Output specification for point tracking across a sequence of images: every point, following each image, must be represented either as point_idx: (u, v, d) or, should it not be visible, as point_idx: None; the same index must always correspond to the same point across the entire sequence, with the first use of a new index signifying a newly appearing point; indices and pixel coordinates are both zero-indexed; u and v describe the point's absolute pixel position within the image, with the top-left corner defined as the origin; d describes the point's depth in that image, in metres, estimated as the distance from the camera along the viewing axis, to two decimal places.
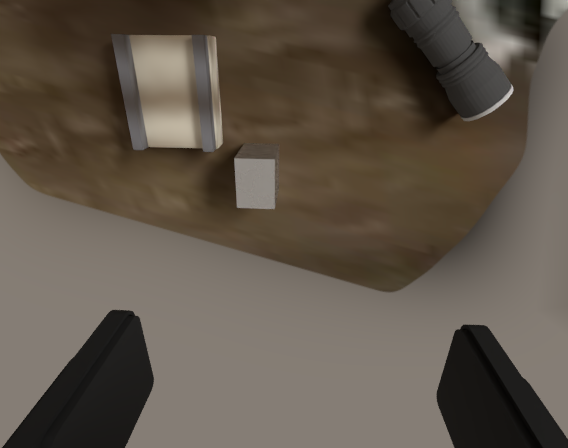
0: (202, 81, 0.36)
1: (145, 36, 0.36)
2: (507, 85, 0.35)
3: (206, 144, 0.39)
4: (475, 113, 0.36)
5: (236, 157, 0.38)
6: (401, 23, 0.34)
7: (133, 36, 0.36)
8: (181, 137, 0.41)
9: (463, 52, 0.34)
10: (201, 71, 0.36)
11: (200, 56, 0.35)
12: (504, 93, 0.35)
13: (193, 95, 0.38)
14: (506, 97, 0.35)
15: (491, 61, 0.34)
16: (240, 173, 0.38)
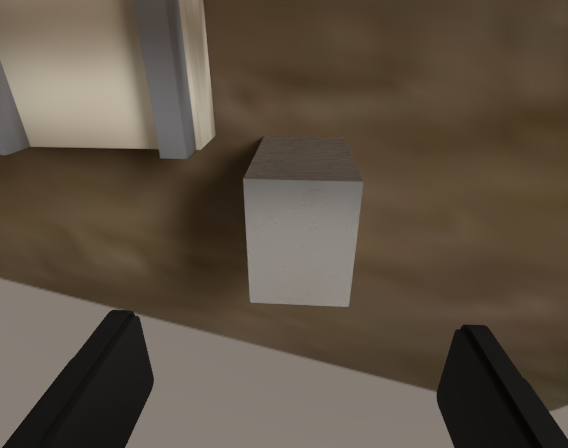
0: None
1: None
2: None
3: (168, 139, 0.15)
4: None
5: (249, 175, 0.13)
6: None
7: None
8: (106, 121, 0.16)
9: None
10: None
11: None
12: None
13: (126, 0, 0.14)
14: None
15: None
16: (261, 219, 0.13)
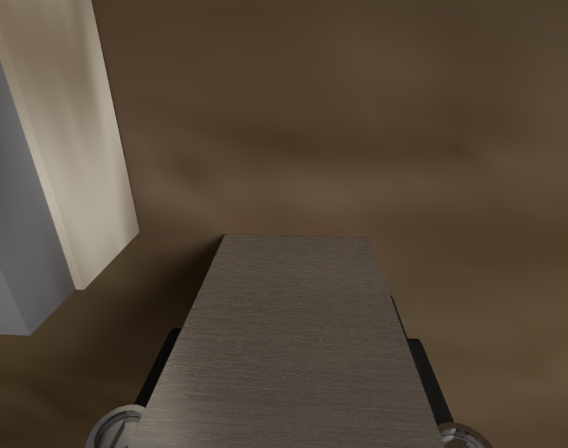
0: None
1: None
2: None
3: None
4: None
5: None
6: None
7: None
8: None
9: None
10: None
11: None
12: None
13: None
14: None
15: None
16: None
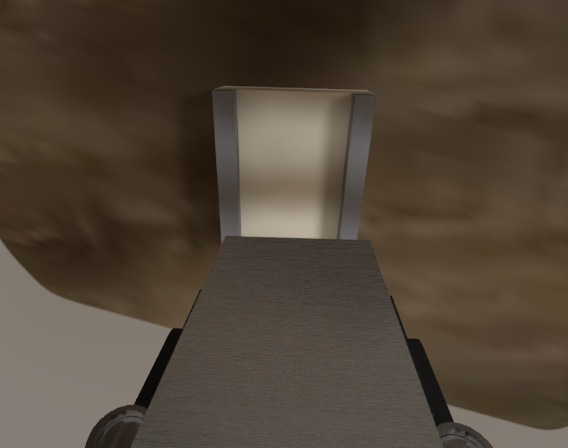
0: (358, 168, 0.21)
1: (264, 92, 0.21)
2: None
3: None
4: None
5: None
6: None
7: (243, 92, 0.21)
8: None
9: None
10: (360, 153, 0.21)
11: (363, 130, 0.20)
12: None
13: (328, 183, 0.23)
14: None
15: None
16: None
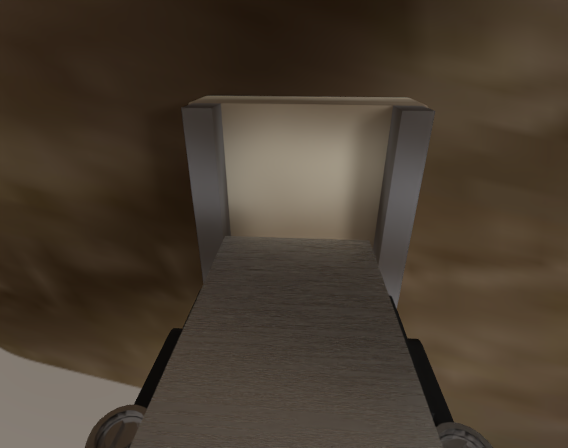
0: (402, 217, 0.14)
1: (262, 107, 0.14)
2: None
3: None
4: None
5: None
6: None
7: (231, 107, 0.14)
8: None
9: None
10: (406, 195, 0.14)
11: (412, 162, 0.13)
12: None
13: (355, 231, 0.17)
14: None
15: None
16: None
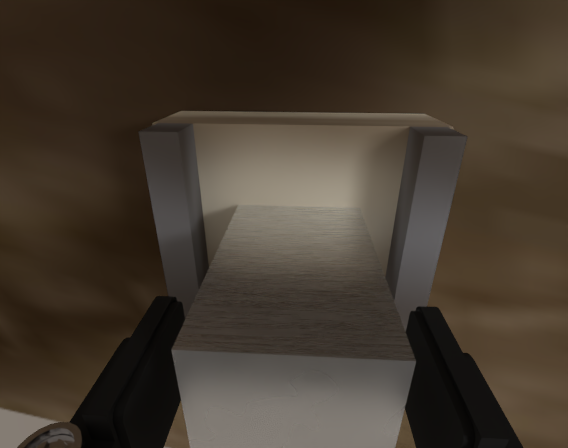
0: (421, 265, 0.12)
1: (244, 128, 0.11)
2: None
3: None
4: None
5: (187, 336, 0.07)
6: None
7: (206, 127, 0.11)
8: None
9: None
10: (426, 240, 0.11)
11: (436, 200, 0.10)
12: None
13: None
14: None
15: None
16: (213, 411, 0.07)
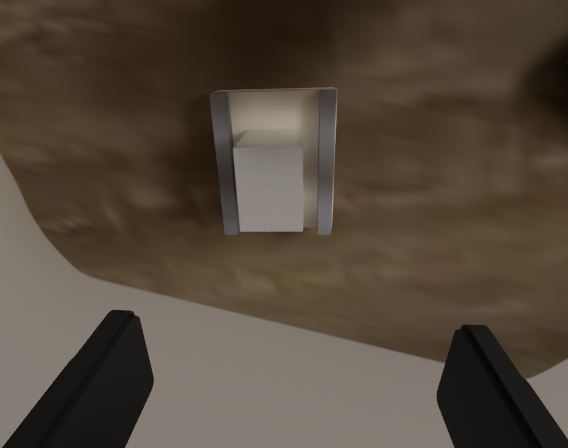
0: (327, 149, 0.27)
1: (250, 93, 0.27)
2: None
3: (323, 226, 0.30)
4: None
5: (236, 146, 0.22)
6: None
7: (234, 93, 0.27)
8: None
9: None
10: (328, 137, 0.27)
11: (329, 118, 0.26)
12: None
13: (306, 164, 0.29)
14: None
15: None
16: (244, 173, 0.22)
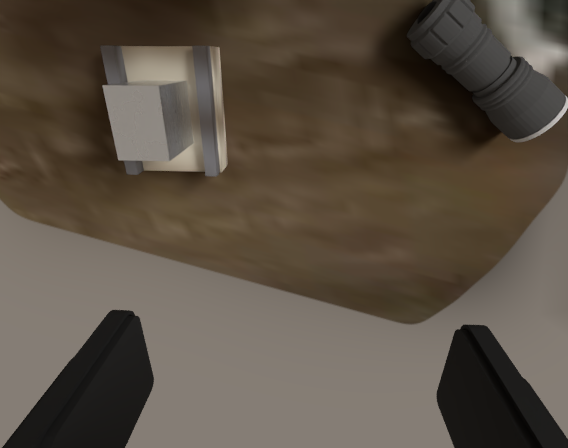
0: (204, 98, 0.32)
1: (139, 47, 0.31)
2: (561, 98, 0.30)
3: (209, 168, 0.35)
4: (527, 134, 0.32)
5: None
6: (425, 53, 0.30)
7: (126, 47, 0.32)
8: (180, 159, 0.36)
9: (503, 72, 0.30)
10: (203, 87, 0.31)
11: (202, 70, 0.31)
12: (559, 108, 0.30)
13: (194, 113, 0.34)
14: (562, 112, 0.30)
15: (538, 75, 0.30)
16: (114, 108, 0.27)
